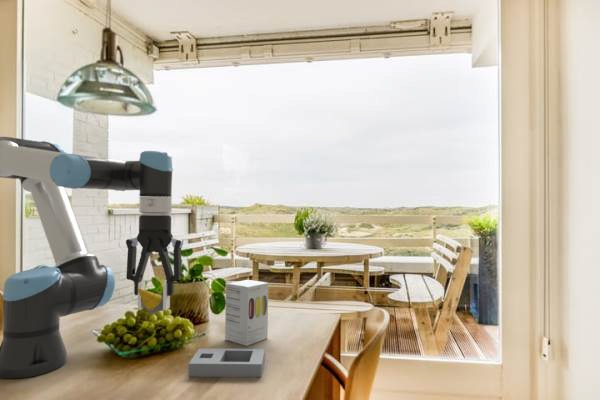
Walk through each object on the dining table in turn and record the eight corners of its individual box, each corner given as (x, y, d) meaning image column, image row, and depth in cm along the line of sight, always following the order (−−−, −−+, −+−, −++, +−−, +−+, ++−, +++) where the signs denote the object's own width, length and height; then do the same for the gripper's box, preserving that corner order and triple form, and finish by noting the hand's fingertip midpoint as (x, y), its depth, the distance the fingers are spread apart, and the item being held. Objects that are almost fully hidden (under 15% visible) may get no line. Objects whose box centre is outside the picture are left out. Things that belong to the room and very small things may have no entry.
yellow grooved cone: (170, 315, 102) (144, 293, 96) (152, 323, 103) (125, 301, 97) (173, 298, 106) (148, 276, 100) (156, 306, 107) (130, 284, 101)
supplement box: (246, 346, 116) (246, 287, 117) (223, 340, 122) (224, 283, 122) (268, 338, 124) (269, 282, 124) (246, 332, 130) (247, 278, 130)
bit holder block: (188, 376, 96) (188, 363, 96) (199, 360, 106) (199, 348, 106) (261, 377, 96) (261, 364, 96) (265, 360, 106) (265, 349, 106)
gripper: (111, 214, 98) (109, 312, 98) (188, 215, 98) (187, 313, 98) (124, 213, 105) (122, 304, 105) (196, 214, 105) (195, 305, 105)
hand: (153, 308), depth 101 cm, fingers closed on yellow grooved cone, 5 cm apart
